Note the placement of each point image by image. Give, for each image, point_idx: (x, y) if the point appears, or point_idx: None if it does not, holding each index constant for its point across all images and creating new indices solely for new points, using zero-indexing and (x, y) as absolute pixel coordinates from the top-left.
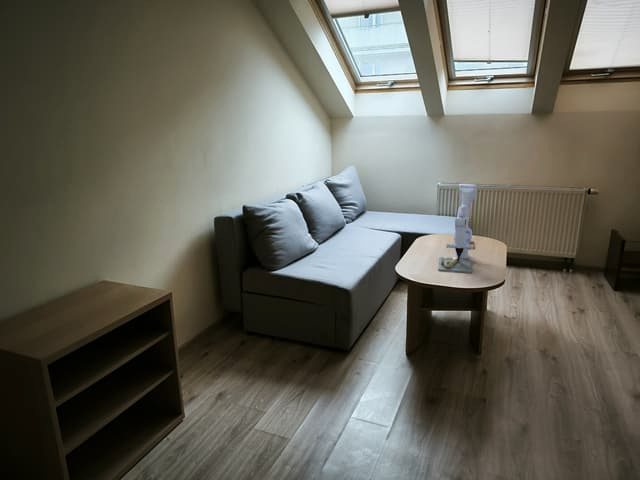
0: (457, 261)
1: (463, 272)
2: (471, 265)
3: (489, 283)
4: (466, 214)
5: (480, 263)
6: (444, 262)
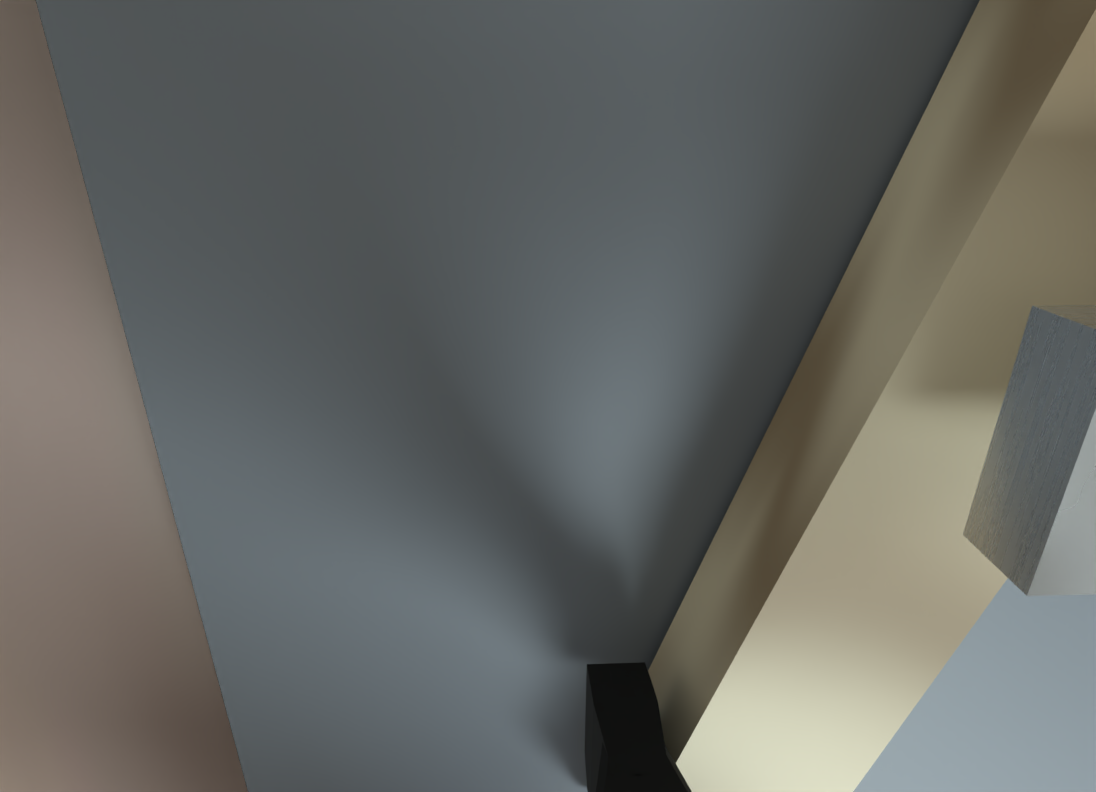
0: None
1: None
2: (155, 442)
3: None
4: None
5: (14, 757)
6: None
